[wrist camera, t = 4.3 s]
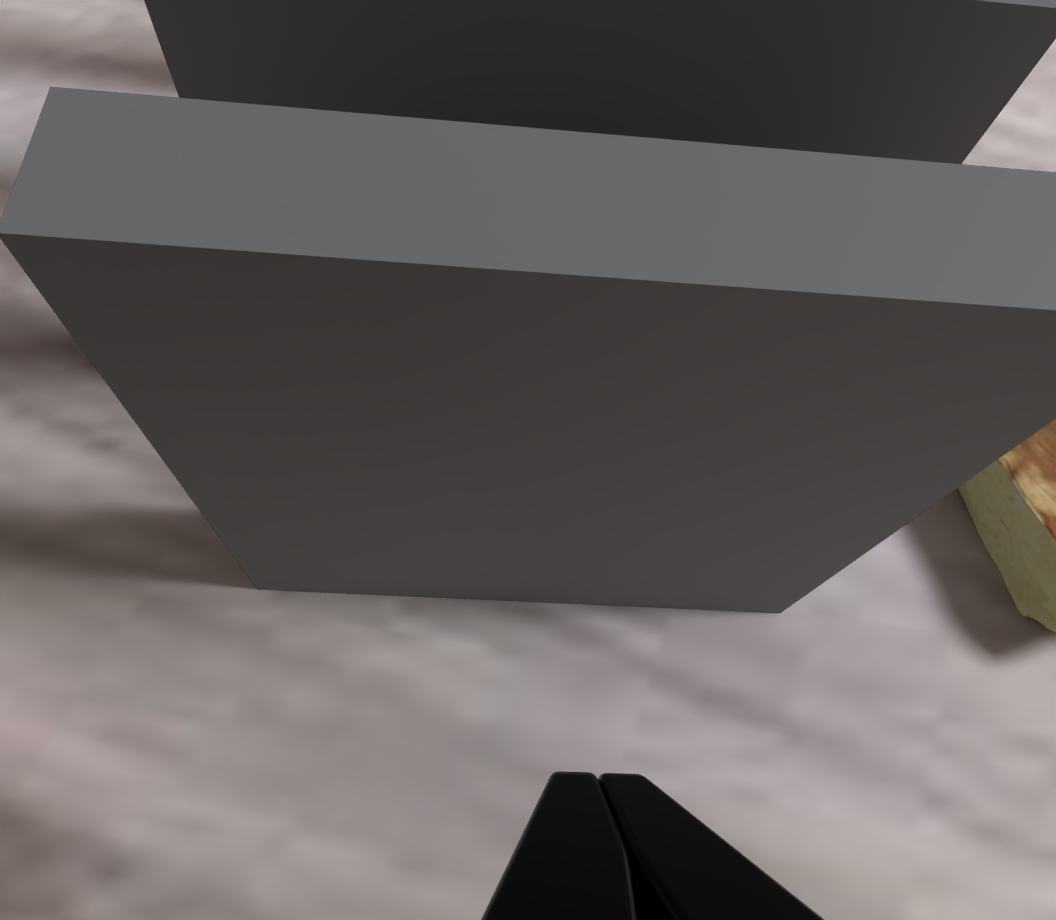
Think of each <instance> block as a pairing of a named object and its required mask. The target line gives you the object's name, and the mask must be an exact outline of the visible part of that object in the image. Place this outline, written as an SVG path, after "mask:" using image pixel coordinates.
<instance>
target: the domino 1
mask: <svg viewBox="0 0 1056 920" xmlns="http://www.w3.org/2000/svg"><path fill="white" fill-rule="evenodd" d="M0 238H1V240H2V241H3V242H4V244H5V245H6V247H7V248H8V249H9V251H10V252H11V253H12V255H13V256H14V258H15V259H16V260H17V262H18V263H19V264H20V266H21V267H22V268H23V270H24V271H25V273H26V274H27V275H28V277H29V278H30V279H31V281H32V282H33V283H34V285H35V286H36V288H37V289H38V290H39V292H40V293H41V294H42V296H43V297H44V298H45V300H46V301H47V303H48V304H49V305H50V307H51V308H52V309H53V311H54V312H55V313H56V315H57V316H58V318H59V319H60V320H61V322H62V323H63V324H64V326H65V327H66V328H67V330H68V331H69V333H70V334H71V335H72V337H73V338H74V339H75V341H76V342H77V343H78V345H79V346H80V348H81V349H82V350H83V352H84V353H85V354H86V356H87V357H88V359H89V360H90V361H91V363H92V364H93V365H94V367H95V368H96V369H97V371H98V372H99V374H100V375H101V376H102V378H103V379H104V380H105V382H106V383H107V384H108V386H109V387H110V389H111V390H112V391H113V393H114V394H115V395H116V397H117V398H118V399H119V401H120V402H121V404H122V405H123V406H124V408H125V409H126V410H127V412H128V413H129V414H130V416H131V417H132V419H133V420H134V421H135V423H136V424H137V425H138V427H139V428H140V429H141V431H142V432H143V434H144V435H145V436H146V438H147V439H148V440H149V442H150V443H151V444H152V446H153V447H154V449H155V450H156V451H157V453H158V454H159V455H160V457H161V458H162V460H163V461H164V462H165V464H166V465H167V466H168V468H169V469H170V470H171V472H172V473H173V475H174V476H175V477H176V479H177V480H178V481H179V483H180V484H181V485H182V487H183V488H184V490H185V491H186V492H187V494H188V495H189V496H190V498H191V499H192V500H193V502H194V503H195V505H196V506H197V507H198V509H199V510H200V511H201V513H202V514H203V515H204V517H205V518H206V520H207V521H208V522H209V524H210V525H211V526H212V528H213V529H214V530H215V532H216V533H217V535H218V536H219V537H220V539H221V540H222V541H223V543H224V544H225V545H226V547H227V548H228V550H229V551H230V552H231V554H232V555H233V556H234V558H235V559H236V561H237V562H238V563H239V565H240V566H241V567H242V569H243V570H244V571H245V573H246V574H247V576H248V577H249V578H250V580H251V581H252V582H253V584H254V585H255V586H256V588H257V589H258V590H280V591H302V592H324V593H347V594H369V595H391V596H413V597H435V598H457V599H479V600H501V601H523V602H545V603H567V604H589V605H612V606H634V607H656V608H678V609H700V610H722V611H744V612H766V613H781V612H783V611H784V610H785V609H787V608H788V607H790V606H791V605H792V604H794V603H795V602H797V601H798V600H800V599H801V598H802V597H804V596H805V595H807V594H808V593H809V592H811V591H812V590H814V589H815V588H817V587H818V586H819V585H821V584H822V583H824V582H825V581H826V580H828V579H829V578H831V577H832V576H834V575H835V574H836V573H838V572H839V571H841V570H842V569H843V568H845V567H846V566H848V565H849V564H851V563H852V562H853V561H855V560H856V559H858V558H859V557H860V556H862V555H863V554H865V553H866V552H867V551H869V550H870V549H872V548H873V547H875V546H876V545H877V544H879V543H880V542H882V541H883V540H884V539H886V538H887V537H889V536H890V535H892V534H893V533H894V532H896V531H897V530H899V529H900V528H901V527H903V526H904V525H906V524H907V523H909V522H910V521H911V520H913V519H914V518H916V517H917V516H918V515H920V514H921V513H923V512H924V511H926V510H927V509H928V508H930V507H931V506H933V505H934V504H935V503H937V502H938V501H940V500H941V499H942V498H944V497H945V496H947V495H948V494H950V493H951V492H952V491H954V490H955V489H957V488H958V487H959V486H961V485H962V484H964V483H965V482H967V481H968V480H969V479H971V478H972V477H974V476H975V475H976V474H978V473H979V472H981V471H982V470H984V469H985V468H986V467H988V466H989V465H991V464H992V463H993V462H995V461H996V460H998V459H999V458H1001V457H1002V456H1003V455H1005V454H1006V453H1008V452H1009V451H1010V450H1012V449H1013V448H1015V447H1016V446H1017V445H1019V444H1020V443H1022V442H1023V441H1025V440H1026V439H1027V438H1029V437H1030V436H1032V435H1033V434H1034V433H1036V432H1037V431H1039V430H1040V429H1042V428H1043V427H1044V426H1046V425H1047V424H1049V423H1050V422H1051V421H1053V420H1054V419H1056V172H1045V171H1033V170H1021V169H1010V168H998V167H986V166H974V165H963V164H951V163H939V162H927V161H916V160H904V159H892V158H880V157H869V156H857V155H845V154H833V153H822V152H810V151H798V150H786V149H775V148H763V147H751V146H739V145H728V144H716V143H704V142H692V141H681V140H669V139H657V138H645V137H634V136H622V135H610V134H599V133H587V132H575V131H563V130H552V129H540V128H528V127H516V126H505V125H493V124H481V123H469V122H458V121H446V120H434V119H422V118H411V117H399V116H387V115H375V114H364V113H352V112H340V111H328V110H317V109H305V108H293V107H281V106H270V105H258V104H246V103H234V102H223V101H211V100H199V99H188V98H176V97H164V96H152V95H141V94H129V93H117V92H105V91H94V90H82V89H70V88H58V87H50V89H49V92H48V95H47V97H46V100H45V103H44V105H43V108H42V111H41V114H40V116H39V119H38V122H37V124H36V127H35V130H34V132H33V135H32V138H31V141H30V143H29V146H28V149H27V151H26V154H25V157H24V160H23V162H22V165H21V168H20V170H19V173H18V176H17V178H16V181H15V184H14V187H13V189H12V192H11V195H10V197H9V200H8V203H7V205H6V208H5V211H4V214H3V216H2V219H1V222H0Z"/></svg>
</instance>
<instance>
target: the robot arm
mask: <svg viewBox="0 0 1056 920" xmlns="http://www.w3.org/2000/svg"><path fill="white" fill-rule="evenodd" d="M481 920H824V919H823V918H822V917H820V916H819V915H818V914H817V913H815V912H814V911H813V910H812V909H810V908H809V907H808V906H807V905H805V904H804V903H803V902H802V901H800V900H799V899H798V898H797V897H795V896H794V895H793V894H791V893H790V892H789V891H788V890H786V889H785V888H784V887H783V886H781V885H780V884H779V883H778V882H776V881H775V880H774V879H773V878H771V877H770V876H769V875H768V874H766V873H765V872H764V871H763V870H761V869H760V868H759V867H758V866H756V865H755V864H754V863H753V862H751V861H750V860H749V859H748V858H746V857H745V856H744V855H742V854H741V853H740V852H739V851H737V850H736V849H735V848H734V847H732V846H731V845H730V844H729V843H727V842H726V841H725V840H724V839H722V838H721V837H720V836H719V835H717V834H716V833H715V832H714V831H712V830H711V829H710V828H709V827H707V826H706V825H705V824H704V823H702V822H701V821H700V820H699V819H697V818H696V817H695V816H693V815H692V814H691V813H690V812H688V811H687V810H686V809H685V808H683V807H682V806H681V805H680V804H678V803H677V802H676V801H675V800H673V799H672V798H671V797H670V796H668V795H667V794H666V793H665V792H663V791H662V790H661V789H660V788H658V787H657V786H656V785H655V784H653V783H652V782H651V781H650V780H648V779H647V778H645V777H644V776H642V775H639V774H620V773H604V774H602V775H600V776H599V778H598V779H597V777H596V776H595V775H594V774H592V773H588V772H555V773H553V774H552V775H551V776H550V778H549V780H548V782H547V784H546V786H545V788H544V790H543V792H542V794H541V797H540V799H539V801H538V803H537V805H536V807H535V809H534V811H533V813H532V815H531V817H530V819H529V821H528V824H527V826H526V828H525V830H524V832H523V834H522V836H521V838H520V840H519V842H518V844H517V846H516V849H515V851H514V853H513V855H512V857H511V859H510V861H509V863H508V865H507V867H506V869H505V871H504V873H503V876H502V878H501V880H500V882H499V884H498V886H497V888H496V890H495V892H494V894H493V896H492V898H491V900H490V903H489V905H488V907H487V909H486V911H485V913H484V915H483V917H482V919H481Z"/></svg>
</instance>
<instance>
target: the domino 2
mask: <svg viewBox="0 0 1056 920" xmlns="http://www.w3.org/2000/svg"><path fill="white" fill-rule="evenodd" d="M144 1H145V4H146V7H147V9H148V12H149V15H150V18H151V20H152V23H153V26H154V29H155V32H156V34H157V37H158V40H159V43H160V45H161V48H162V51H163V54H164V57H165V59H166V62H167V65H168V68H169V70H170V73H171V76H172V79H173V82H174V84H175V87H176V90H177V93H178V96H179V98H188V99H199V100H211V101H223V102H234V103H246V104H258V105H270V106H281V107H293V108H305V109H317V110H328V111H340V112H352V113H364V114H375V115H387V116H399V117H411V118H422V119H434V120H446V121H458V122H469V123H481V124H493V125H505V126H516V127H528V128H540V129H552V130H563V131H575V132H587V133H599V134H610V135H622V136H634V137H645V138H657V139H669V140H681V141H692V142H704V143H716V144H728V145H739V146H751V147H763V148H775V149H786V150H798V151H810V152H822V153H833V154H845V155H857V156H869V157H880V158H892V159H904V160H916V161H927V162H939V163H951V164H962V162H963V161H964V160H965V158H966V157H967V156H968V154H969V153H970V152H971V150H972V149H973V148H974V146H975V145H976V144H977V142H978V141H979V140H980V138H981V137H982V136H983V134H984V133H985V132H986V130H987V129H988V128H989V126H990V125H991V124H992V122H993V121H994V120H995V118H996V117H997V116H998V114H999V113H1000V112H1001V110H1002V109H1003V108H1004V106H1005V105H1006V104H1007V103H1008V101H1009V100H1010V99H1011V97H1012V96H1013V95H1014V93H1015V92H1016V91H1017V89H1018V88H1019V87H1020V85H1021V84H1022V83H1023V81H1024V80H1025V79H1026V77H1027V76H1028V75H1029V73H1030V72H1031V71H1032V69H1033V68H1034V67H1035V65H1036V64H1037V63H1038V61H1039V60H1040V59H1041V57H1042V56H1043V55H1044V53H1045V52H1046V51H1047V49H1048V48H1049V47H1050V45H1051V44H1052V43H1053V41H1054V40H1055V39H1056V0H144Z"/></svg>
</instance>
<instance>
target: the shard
mask: <svg viewBox="0 0 1056 920" xmlns="http://www.w3.org/2000/svg"><path fill="white" fill-rule="evenodd" d="M958 490H959V492H960V494H961V496H962V498H963V499H964V501H965V504H966V506H967V509H968V511H969V513H970V516H971V518H972V519H973V522H974V524H975V526H976V529H977V531H978V533H979V535H980V537H981V539H982V541H983V543H984V545H985V547H986V549H987V551H988V554H989V555H990V557H991V558H992V560H993V561H994V562H995V563H996V565H997V567H998V569H999V571H1000V573H1001V574H1002V577H1003V579H1004V581H1005V584H1006V586H1007V589H1008V591H1009V593H1010V595H1011V597H1012V598H1013V600H1014V602H1015V605H1016V608H1017V610H1018V611H1019V612H1020V613H1021V614H1022V615H1023V616H1025V617H1030V618H1032V619H1034V620H1037V621H1039V622H1040V623H1041V624H1043V625H1044V626H1045V627H1046V628H1047V629H1049V630H1051V631H1054V632H1056V419H1054V420H1053V421H1051V422H1050V423H1049V424H1047V425H1046V426H1044V427H1043V428H1042V429H1040V430H1039V431H1037V432H1036V433H1034V434H1033V435H1032V436H1030V437H1029V438H1027V439H1026V440H1025V441H1023V442H1022V443H1020V444H1019V445H1017V446H1016V447H1015V448H1013V449H1012V450H1010V451H1009V452H1008V453H1006V454H1005V455H1003V456H1002V457H1001V458H999V459H998V460H996V461H995V462H993V463H992V464H991V465H989V466H988V467H986V468H985V469H984V470H982V471H981V472H979V473H978V474H976V475H975V476H974V477H972V478H971V479H969V480H968V481H967V482H965V483H964V484H962V485H961V486H959V487H958Z"/></svg>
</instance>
